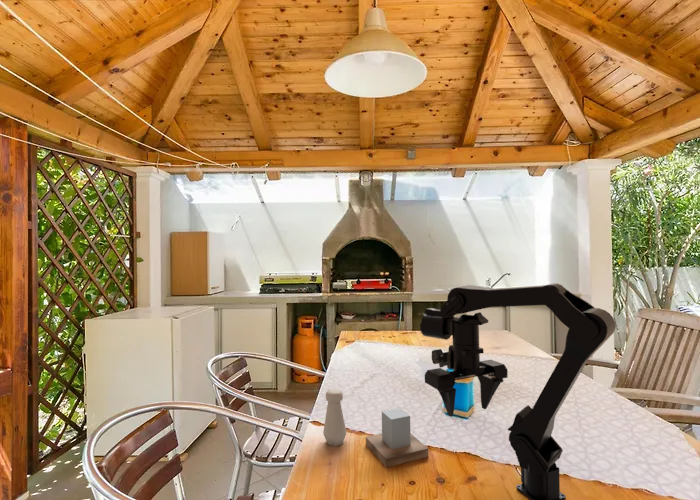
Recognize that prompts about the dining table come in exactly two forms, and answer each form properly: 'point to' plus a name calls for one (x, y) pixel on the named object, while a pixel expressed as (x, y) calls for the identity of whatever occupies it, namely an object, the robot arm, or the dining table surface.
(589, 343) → the robot arm
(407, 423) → the slate block
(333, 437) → the salt shaker
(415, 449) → the walnut plinth
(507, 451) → the dining table surface
